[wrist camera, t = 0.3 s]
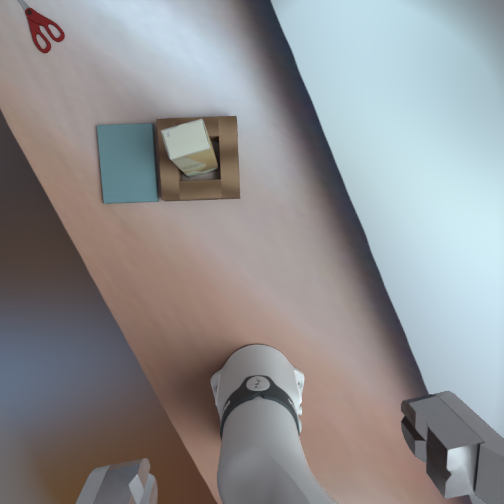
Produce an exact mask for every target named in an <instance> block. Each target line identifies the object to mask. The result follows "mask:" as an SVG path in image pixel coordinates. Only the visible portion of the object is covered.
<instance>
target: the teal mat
mask: <svg viewBox="0 0 504 504" xmlns="http://www.w3.org/2000/svg"><path fill="white" fill-rule="evenodd" d="M97 134H98V145H99V156H100V167H101V178H102V189H103V201H104V203H106V204H108V203H135V202H159V198H158V184H157V169H156V155H155V141H154V127H153V124H152V123H145V124H118V125H97Z"/></svg>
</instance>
